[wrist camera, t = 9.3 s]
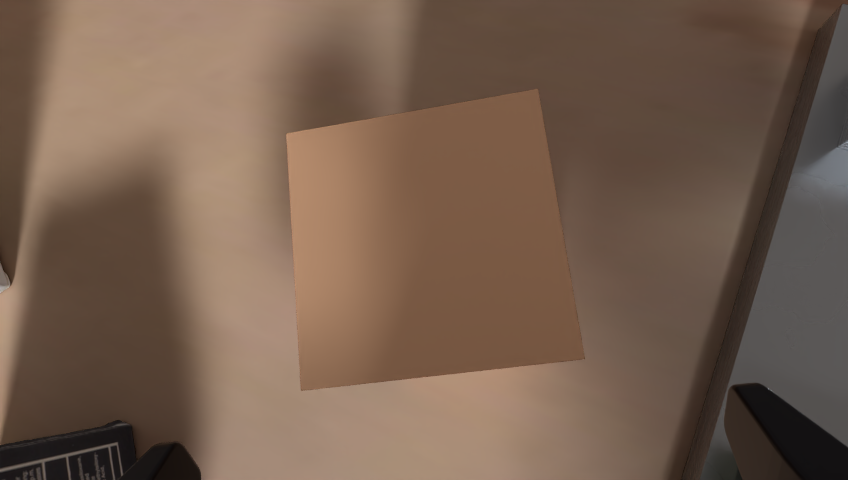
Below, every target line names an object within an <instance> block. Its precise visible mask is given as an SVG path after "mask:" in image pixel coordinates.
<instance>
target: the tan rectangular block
mask: <svg viewBox="0 0 848 480" xmlns="http://www.w3.org/2000/svg"><path fill="white" fill-rule="evenodd" d="M286 140H287V157H288V174H289V192H290V209H291V226H292V244H293V261H294V278H295V296H296V313H297V330H298V348H299V365H300V382H301V391H303V390H312V389H321V388H330V387H339V386H348V385H357V384H366V383H375V382H384V381H393V380H402V379H411V378H420V377H429V376H438V375H447V374H456V373H465V372H474V371H483V370H492V369H501V368H510V367H519V366H527V365H536V364H545V363H554V362H563V361H572V360H581V359H585V356H584V351H583V345H582V339H581V333H580V328H579V322H578V316H577V310H576V305H575V299H574V293H573V287H572V282H571V276H570V270H569V264H568V259H567V253H566V247H565V241H564V236H563V230H562V224H561V218H560V213H559V207H558V201H557V195H556V190H555V184H554V178H553V172H552V167H551V161H550V155H549V149H548V144H547V138H546V132H545V126H544V121H543V115H542V109H541V103H540V97H539V92H538V89H533V90H527V91H522V92H516V93H511V94H505V95H499V96H494V97H488V98H483V99H477V100H471V101H466V102H460V103H455V104H449V105H443V106H438V107H432V108H427V109H421V110H415V111H410V112H404V113H399V114H393V115H387V116H382V117H376V118H371V119H365V120H359V121H354V122H348V123H343V124H337V125H331V126H326V127H320V128H315V129H309V130H303V131H298V132H292V133H287V134H286Z"/></svg>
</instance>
